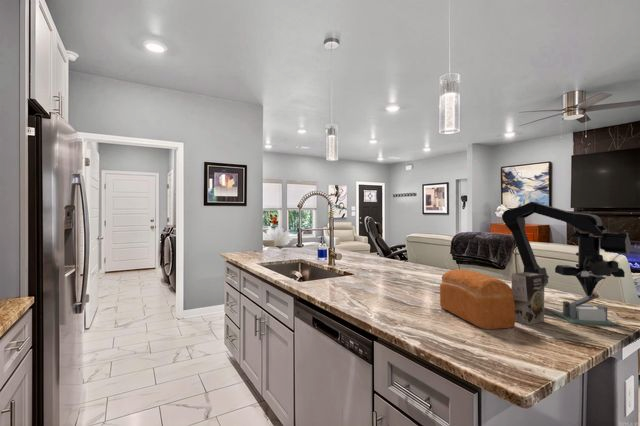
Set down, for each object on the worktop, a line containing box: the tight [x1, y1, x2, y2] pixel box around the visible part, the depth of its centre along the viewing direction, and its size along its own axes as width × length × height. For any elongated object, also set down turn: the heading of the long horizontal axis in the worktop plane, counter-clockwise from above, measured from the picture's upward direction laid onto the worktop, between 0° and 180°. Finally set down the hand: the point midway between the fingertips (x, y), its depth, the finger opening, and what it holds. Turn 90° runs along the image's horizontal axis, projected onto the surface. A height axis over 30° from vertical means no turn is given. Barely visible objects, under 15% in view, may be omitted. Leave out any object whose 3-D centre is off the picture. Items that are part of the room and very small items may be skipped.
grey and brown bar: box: [566, 290, 600, 308], centre depth 114 cm, size 10×2×2 cm, turn 81°
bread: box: [439, 268, 516, 330], centre depth 117 cm, size 14×26×16 cm, turn 11°
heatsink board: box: [554, 300, 616, 326], centre depth 114 cm, size 13×10×5 cm
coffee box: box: [510, 271, 545, 326], centre depth 112 cm, size 9×6×16 cm
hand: (588, 295), depth 113 cm, fingers closed
